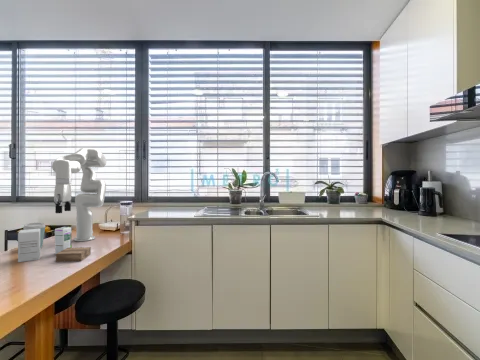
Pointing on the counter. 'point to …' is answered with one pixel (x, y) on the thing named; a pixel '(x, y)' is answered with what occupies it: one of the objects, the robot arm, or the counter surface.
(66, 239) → the syrup box
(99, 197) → the robot arm
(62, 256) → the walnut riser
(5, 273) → the counter surface
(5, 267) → the counter surface
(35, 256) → the supplement box
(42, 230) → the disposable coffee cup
